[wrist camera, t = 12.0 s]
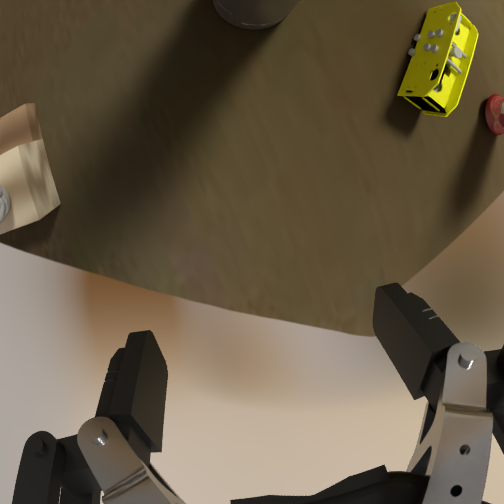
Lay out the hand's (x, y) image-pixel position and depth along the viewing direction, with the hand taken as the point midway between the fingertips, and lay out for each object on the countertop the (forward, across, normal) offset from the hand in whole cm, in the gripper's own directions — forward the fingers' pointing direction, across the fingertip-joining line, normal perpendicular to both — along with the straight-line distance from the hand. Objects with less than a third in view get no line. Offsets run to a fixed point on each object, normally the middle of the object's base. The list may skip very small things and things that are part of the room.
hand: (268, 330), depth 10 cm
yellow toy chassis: (+28, -28, -13) cm, 42 cm away
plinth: (+28, +27, -8) cm, 39 cm away
